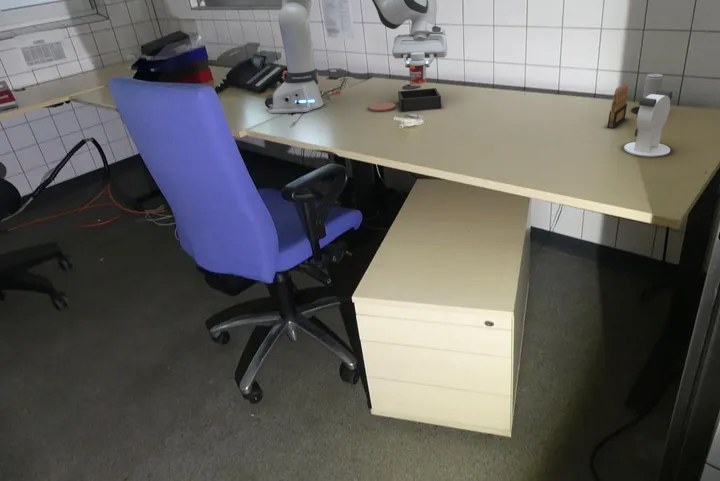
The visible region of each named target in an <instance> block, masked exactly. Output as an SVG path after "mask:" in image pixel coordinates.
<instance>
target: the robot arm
mask: <svg viewBox="0 0 720 481" xmlns="http://www.w3.org/2000/svg"><path fill="white" fill-rule="evenodd" d="M371 1H372V3H373V5H374V7H375V10H376V12H377V15H378V18H379V21H380V22H381V24H382V25H383V26H384V27H386V28H388V29H391V30H396V29H399V27H401V26H402V25H403V24H404V23H405V22H407V21H409V20H410V21H411V24H410V32H409V34H408V33H406V34H398V35H396V36H395V37H394V38H393V46H392V51H391V53H392V56H393V58H394V59H403V61H404V67H405V69H407V68H408V69H409V62H410V61H411V60H409V59H411V53H413V52H424V53H425V58H424V59H428V60H425V61H426V63H425V66H426V68H430V67H431V64H432V63H433V62H434V61H435V59H438V58H440V59H443V58H446V57H447V55H448V43H447V36H446V30H445V28H444V27H442V26H439V25H435V22H436V20H437V12H438V11H437V10H438V4H437V0H371ZM311 15H312V0H281V8H280V11H279V13H278V16H277V17H278V25H279V30H280V36H281V41H282V45H283V49H284V55H285V56H284V57H285V62H286V63H285V64H286V69H287V70H283V72H282V79H283V82H282V83H281V84H280V85H279V86H278V87H277V89H275V90H274V92H273V94H267V95H266V98H265V100H264V105H265V106H266V108H267V112H268V113H270V114H289V113H290V114H291V113H307V112H310V111H313V110H315V109H320V108H321V107H323V106H324V105H325V103H324V101H323V100H324V99H323V98H322V95H321V91H320V86H319V73H318V69H317V68H316V67H317V66H316V61H315V60H316V59H315V51H314V44H313V38H312V32H311V26H310V24H311V23H310V21H311Z"/></svg>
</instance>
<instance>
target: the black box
mask: <svg viewBox="0 0 720 481" xmlns="http://www.w3.org/2000/svg"><path fill="white" fill-rule="evenodd" d="M397 95H398V96H397V97H398V98H397V99H398V105H399V108H400V111H401V112H413V111H424V110H436V109H441V108H442V95H441V93H440V92H439V91H438V89H437V88H436V87H432V88H420V89H411V90H399V91H397Z"/></svg>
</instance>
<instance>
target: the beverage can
mask: <svg viewBox="0 0 720 481" xmlns="http://www.w3.org/2000/svg"><path fill="white" fill-rule="evenodd" d="M663 76H664V75H663V74H661V73H647V74H646V77H645V81H644V89H643V93H642V97H643V98H646V97H647V96H648V95H650V94H656V92H657V90H662V86H663V80H664V77H663Z"/></svg>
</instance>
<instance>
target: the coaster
mask: <svg viewBox="0 0 720 481" xmlns="http://www.w3.org/2000/svg"><path fill="white" fill-rule="evenodd" d="M368 108H369V111H371V112H375V113H376V112H377V113H379V112H381V113H382V112H389V111H391V110H392V111H393V110H395V109H396V104H395V103H393V102H386V101H385V102H383V101H382V102H376V103H372V104H370V105H369V107H368Z"/></svg>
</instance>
